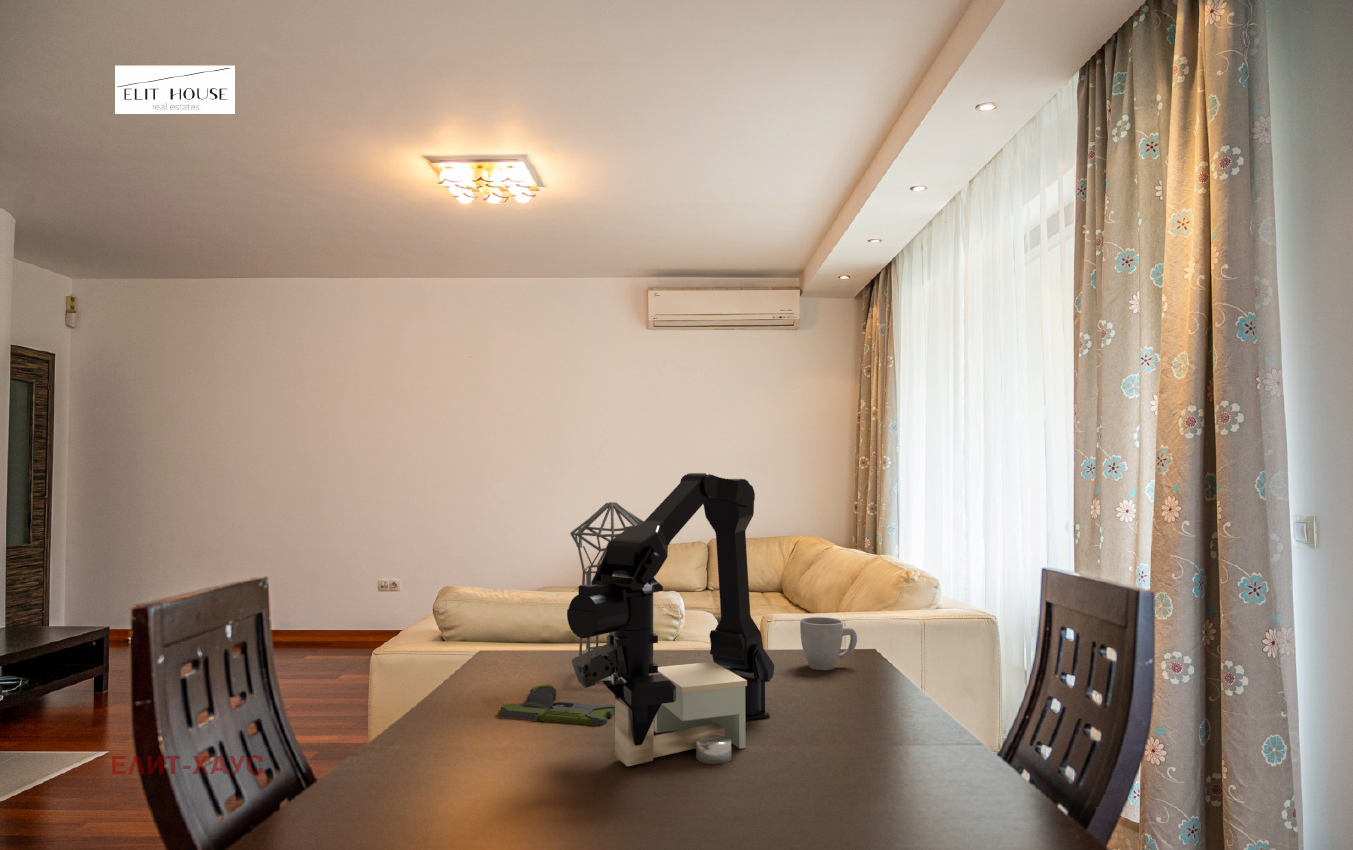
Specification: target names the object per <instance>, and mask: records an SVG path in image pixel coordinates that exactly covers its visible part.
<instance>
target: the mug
mask: <svg viewBox="0 0 1353 850" xmlns="http://www.w3.org/2000/svg"><path fill="white" fill-rule="evenodd" d="M799 623H800V624H799V626H800V628H799V629H800V632H799V633H800V640H801V646H802V650H803V654H804V656H805V659H806V661H807V663H808V668H810V669H813V670H815V671H816V670H817V671H831V670H834V669H835V668H836V663H837V661H838V659H844V658H846V657H848V656H850V655H852V654H853V652H854V650H855V648H856V647H857V642H858V635H857V632H856V630H855V629H854V628H852V627H849V626H846V627H845V626H844V627H843V621H842V620H841V619H839V618H834V617H825V616H811V617H810V616H809V617H803V618H801V619H800V622H799ZM843 636H849V637H850V639H849V644H848V647H847V649H845V650H844V651H843V652H841V650H842V643H843Z"/></svg>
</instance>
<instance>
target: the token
mask: <svg viewBox="0 0 1353 850" xmlns="http://www.w3.org/2000/svg"><path fill="white" fill-rule="evenodd" d="M695 749H696V750H695V751H696V752H695V754H696V755H695V758H696V760H698V761H699V762H702V763H704V764H709V765H710V764H711V765H714V764H715V765H718V764H719V765H720V764H725V763H727V762H730V761H731V760H732V743H731V739H730V738H728V737H725V736H721V735H705V736H701V737H699V738H697V740H696V748H695Z"/></svg>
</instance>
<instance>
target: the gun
mask: <svg viewBox="0 0 1353 850" xmlns="http://www.w3.org/2000/svg"><path fill="white" fill-rule="evenodd" d="M557 692H558V691H557V688H556V687H555V686H554V685H551V684H541V685H536V686H534V687H532V688H531V689H530V690H529V693H528V695H527V697H526V703H522V704H521V703H520V704H516V703H508V704H507V703H505V704H502V705H500V708H499V710H497V715H498V716H501V718H506V719H507V718H508V719H519V720H530V721H531V720H532V721H533V722H538V721H539V722H550V723H560V724H570V725H571V724H572V725H585V726H604V725H606V724H608V719H612V718H613V716H615V704H611V703H607V704H593V703H580V702H579V703H578V702H572V701H569V702H568V701H557V702H554V701H556V697H557Z"/></svg>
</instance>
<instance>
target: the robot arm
mask: <svg viewBox="0 0 1353 850" xmlns="http://www.w3.org/2000/svg"><path fill="white" fill-rule="evenodd" d="M755 499H756V493H755V490H754V487H753V485H752V484H750V482H749V481H748V480H747V479H745V478H725V477H719V476H717V475H714V474H711V473H709V472H693V473H692V472H689V473H686V474H684V475H683V476H682V477H681V478H680V482H679V483H678V485H677V486H675V488H674V489H673V490H671V492H670V493H669V494H668V495H667V496H666V498H665V499H663V501H661V503H660V504H659V505H658V506H657V507H656V508H655V509H654V510H653V511H652V513H650V514H649V516H648V517H646V519H645V520H643V521H644V522H642V523H641V524H639V525H637V526H634V527H632V528H629V529H627V530H625V531H622V532H620V533H621V534H620V533H618V534H619V535H618V536H616V537H614V538H613V539H612V540H611V539H610V540H611V542H610V543H609V544H608V543H607V544H608V546H607V545H606V546H607V549H606V553H605V555H604V557H603V559H602V561H601V563H600V565H599V568H598V570H597V569H596V571H597V572H596V573H594V576H593V578H592V579H591V585H586V584H585V585H582V584H579V585H578V588H577V589H578V594H577V595H576V596H574V597H573V598H572V599H571V601H570V603H569V606H568V608H567V611H566V619H567V624H568V626H569V629H570V630H571V631H572V633H573V634H574V635H575V636H576V637H578V638H579V639H580V638H583V639H587V638H589V637H590V638H592V637H596V636H598V635H599V636H600V635H606V634H607V637H606V643H605V644H603V645H600V646H601V647H597V648H595V649H592V650H590V651H587V652H586V653H584V652H583V653H584V654H583V653H582V655H579V654H578V655H577V656H575V657H574V658H572V659H571V664H572V667H573V670H574V672H575V675H576V679H577V681H578V683H580V684H581V685H582V687H583V688H585V689H586V688H590V687H593V686H594V685H596V684H597V683H599V682H598V681H600V680H606V681H603V682H602V684H603V685H604V686H605V687H606V688H607V689H608V690H609V691H610V692H611V693H612V694H613V695H614V699H618V698H619V699H620V700H621V701H622V702H623V703H624V704H626V705H627V706H628V708H629V714H630V721H631V729H632V736H633V741H634V745H636V746H637V745H642V744H643V742H644V739H645V737H646V735H647V733H648V731H649V728H650V726H651V724H652V722H653V720H654V721H655V716H656V714H657V712H658V710H659V708H660V706H661V704H664V703H673V702H675V701H676V686H675V685H674V684H673V683H672V682H671V681H670V680H668V679H667V678H665V677H664V676H663V675H661V674H658V675H655V674H654V673H658V667H659V664H657V663H655V662H654V644H658V643H659V635H658V634H656V633H655V632H654V593H658V592H663V590H664V586H663V585H662V584H661V583H660V582H659V581H657V579H655V576H657V574H658V573H659V571H660V570H661V568H662V567H663V565H664V564H665V562H666V560H667V559H668V554H669V553H668V552H669V551H668V550H669V545H670V543H671V542H672V540H673V539H674V538H675V537H676V536H677V535H678V534H679V533H680V532H681V530H682V529H683V528H684V527H685V526H686V525H687V524H688V522H689V521H690V520H691V519H692V517H694V515H695V514H696V513H697V511H699V510H700V508H702V506H703V510H704V515H705V518H706V520H707V521H708V523H709V525H710V526H711V528H712V529H713V531H714V533H715V542H716V543H715V545H716V556H717V557H716V559H717V560H716V561H717V575H718V589H719V590H718V591H719V609H720V620H719V622H718V624H717V625H716V627H715V629H712V630H710V632H709V639H710V640H709V641H710V651H709V655H710V656H712V657H711V658H712V662H714V663H716V664H718V665H720V666H722V667H723V668H725V669H727V670H729V671H731V672H732V673H734V674H736V675H738V676H740V677H742V678H743V679H745V680H747V686H745V721H746V720H754V719H763V718H764V719H766V718H770V717H771V713H770V712H768V711H766V683H769V682H770V681H771V679H773V678H774V673H775V664H774V662H773V660H772V659H771V657H770V656H769V655H768V652H767V651H766V650H765V649H764V644H763V643H764V642H763V637H762V632H761V631H760V628H759V627H758V625H757V624H756V622H755V621H754V619H753V618H752V616H751V605H750V604H751V602H750V588H749V587H750V585H749V572H748V555H747V554H748V552H747V539H746V538H747V537H746V535H747V534H746V530H747V528H748V526H749V525H750V522H751V521H752V518H753V517H754V513H755ZM606 678H607V679H606Z"/></svg>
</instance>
